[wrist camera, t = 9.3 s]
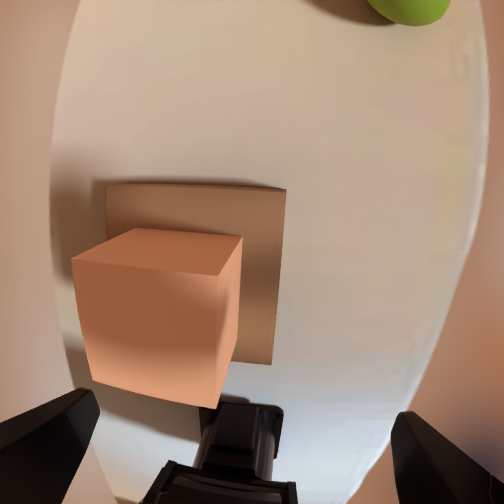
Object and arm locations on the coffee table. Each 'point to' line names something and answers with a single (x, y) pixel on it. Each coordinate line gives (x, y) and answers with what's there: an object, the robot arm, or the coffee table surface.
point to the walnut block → (223, 223)
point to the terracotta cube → (161, 312)
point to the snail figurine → (411, 10)
